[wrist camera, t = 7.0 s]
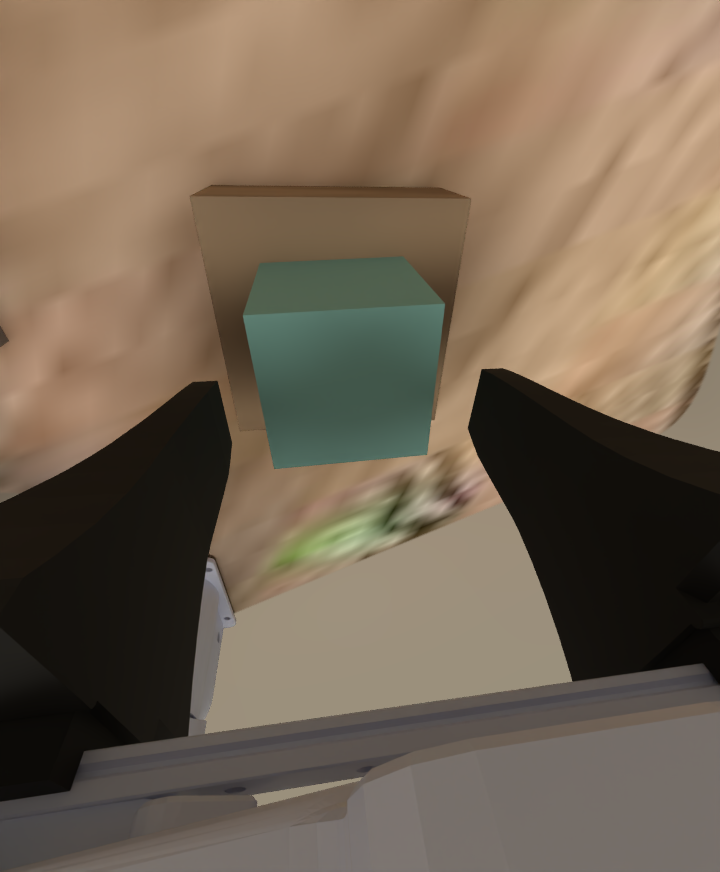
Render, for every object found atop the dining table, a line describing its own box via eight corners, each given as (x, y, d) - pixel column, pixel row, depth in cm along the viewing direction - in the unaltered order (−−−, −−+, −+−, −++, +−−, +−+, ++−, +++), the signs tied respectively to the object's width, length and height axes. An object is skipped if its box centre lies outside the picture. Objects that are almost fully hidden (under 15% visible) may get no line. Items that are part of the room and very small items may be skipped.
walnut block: (414, 378, 21) (434, 420, 18) (249, 386, 20) (239, 430, 17) (437, 186, 16) (471, 198, 13) (212, 184, 15) (189, 196, 12)
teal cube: (397, 380, 17) (426, 454, 13) (280, 389, 16) (274, 469, 12) (403, 256, 14) (445, 303, 10) (259, 262, 13) (242, 315, 9)
